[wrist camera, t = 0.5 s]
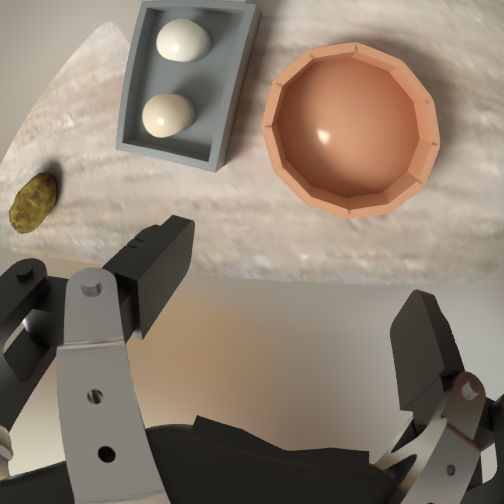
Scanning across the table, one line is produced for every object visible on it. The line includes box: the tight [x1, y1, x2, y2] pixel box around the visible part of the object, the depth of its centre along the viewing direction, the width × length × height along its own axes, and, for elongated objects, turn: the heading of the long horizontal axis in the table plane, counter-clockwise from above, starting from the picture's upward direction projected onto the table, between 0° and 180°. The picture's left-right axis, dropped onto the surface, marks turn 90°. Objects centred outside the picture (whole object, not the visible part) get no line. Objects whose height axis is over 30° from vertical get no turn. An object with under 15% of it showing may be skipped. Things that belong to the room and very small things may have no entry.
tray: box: [116, 0, 262, 173], centre depth 28 cm, size 20×14×4 cm
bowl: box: [261, 42, 441, 219], centre depth 27 cm, size 18×18×5 cm
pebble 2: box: [142, 94, 196, 138], centre depth 30 cm, size 5×5×4 cm
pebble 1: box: [156, 19, 212, 63], centre depth 25 cm, size 5×5×4 cm
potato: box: [9, 173, 56, 234], centre depth 40 cm, size 8×13×8 cm, turn 111°
